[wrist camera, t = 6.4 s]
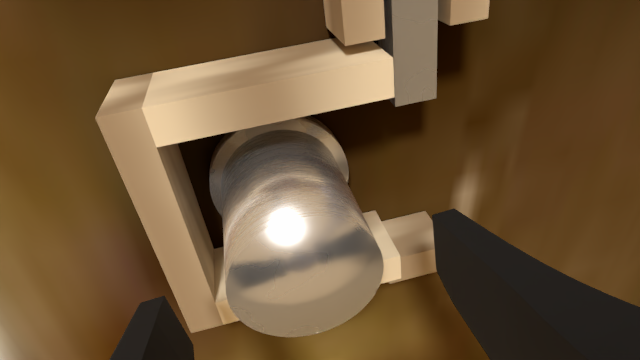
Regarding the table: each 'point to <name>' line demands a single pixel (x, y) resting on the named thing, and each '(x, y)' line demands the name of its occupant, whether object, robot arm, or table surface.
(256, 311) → the silver metal cylinder
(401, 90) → the pin
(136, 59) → the table surface
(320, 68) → the dock
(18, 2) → the table surface
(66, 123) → the table surface
